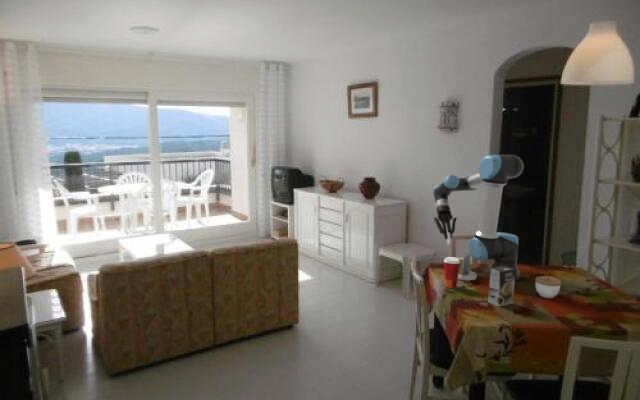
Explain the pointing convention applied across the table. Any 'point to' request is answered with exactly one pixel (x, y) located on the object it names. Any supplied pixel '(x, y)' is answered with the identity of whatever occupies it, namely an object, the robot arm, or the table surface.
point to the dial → (464, 264)
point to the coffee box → (501, 286)
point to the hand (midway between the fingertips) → (449, 243)
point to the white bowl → (547, 286)
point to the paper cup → (451, 271)
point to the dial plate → (467, 276)
